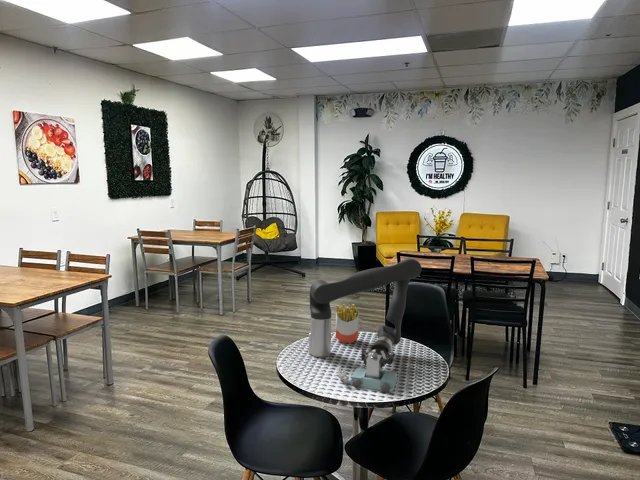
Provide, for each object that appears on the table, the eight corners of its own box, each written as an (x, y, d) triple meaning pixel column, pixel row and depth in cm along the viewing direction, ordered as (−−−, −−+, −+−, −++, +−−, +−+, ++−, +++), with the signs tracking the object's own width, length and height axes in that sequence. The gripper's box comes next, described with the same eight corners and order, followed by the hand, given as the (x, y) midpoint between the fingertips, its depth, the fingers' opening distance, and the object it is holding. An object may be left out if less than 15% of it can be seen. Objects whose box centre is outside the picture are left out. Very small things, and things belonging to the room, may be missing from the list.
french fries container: (358, 343, 209) (359, 306, 207) (335, 342, 210) (336, 306, 207) (357, 339, 214) (358, 304, 211) (335, 339, 214) (336, 303, 212)
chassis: (350, 386, 165) (350, 377, 164) (358, 373, 177) (358, 364, 176) (391, 393, 160) (392, 384, 159) (397, 379, 171) (397, 370, 171)
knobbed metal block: (366, 382, 166) (366, 355, 165) (369, 375, 172) (369, 349, 170) (378, 383, 165) (379, 357, 163) (381, 377, 170) (382, 351, 169)
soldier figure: (350, 375, 177) (359, 379, 165) (342, 385, 175) (351, 389, 164) (336, 362, 176) (345, 365, 165) (328, 371, 175) (336, 375, 163)
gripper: (365, 337, 182) (355, 352, 166) (399, 341, 177) (392, 357, 162) (364, 354, 183) (354, 370, 167) (399, 359, 179) (391, 376, 163)
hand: (373, 364), depth 165 cm, fingers open, 5 cm apart
